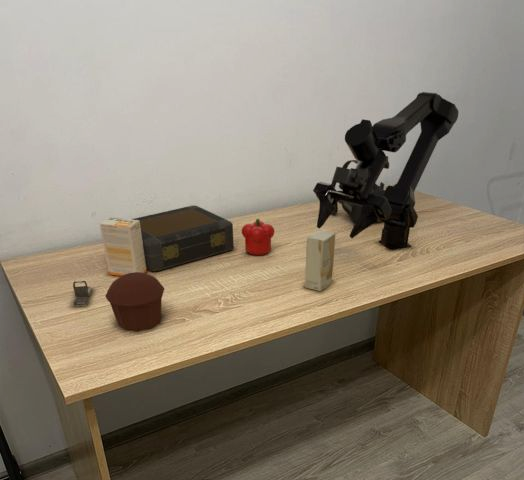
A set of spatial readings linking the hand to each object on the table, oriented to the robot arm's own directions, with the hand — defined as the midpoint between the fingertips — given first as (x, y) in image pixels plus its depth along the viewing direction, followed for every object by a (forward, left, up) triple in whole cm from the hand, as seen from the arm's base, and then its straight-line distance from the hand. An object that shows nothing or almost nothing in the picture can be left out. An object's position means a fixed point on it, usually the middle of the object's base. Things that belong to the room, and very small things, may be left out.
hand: (334, 232), depth 121 cm
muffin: (+46, +4, -12) cm, 48 cm away
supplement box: (+45, -21, -12) cm, 51 cm away
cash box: (+30, -32, -12) cm, 45 cm away
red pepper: (+10, -22, -11) cm, 27 cm away
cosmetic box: (+4, +2, -12) cm, 13 cm away
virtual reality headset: (-30, -39, -12) cm, 51 cm away
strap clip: (+56, -11, -12) cm, 59 cm away
